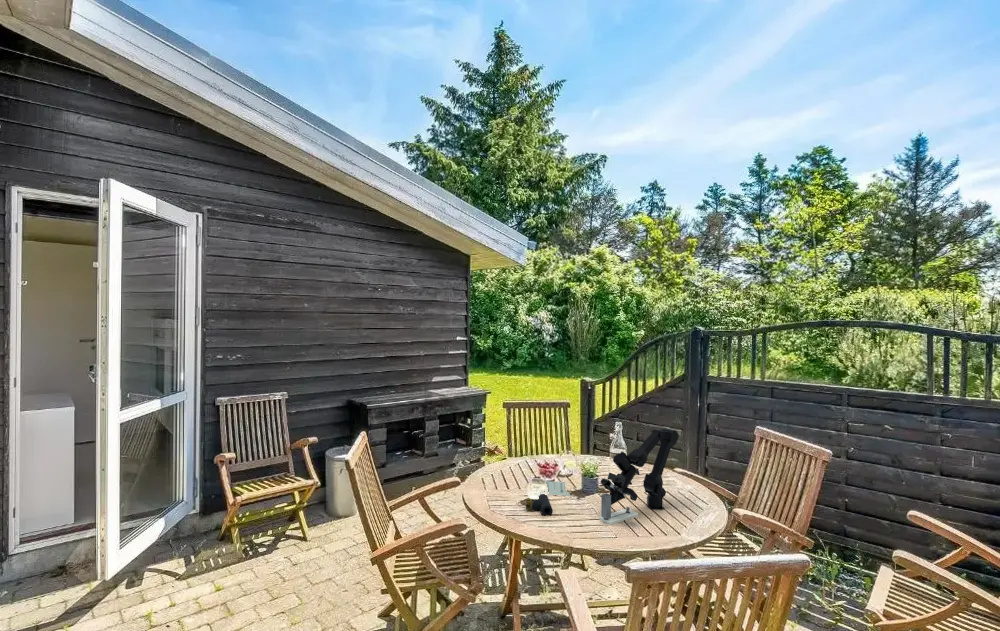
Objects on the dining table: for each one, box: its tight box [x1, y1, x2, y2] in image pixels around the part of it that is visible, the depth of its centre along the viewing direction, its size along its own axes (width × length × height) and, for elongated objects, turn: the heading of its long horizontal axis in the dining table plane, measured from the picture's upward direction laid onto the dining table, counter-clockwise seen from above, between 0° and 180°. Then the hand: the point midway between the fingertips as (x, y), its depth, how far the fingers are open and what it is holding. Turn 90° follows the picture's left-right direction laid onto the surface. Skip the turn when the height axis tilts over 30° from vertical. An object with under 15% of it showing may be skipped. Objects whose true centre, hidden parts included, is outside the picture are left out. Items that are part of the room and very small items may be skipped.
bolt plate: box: [598, 506, 639, 526], centre depth 224 cm, size 18×7×4 cm, turn 122°
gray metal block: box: [600, 492, 612, 519], centre depth 219 cm, size 3×3×11 cm
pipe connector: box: [525, 493, 554, 516], centre depth 233 cm, size 12×5×15 cm
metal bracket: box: [543, 479, 570, 496], centre depth 257 cm, size 14×6×15 cm
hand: (609, 504), depth 220 cm, fingers closed
